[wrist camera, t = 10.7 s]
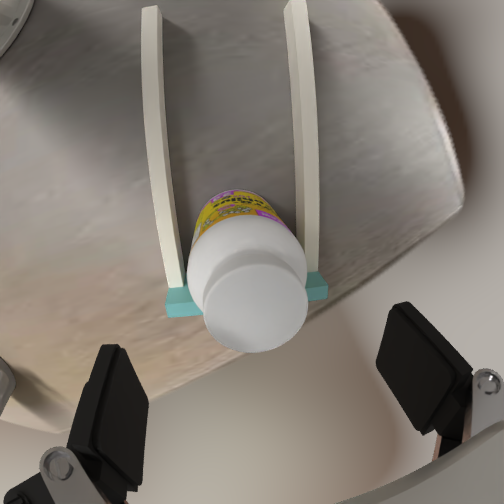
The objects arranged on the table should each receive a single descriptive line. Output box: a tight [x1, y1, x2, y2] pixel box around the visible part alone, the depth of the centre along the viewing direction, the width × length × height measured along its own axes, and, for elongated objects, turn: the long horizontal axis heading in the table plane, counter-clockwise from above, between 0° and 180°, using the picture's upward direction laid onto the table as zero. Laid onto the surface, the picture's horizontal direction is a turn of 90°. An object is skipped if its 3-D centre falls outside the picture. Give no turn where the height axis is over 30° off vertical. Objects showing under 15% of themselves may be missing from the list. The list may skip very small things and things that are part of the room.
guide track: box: [141, 0, 328, 318], centre depth 19 cm, size 24×12×5 cm, turn 3°
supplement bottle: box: [187, 189, 308, 353], centre depth 18 cm, size 7×7×13 cm
